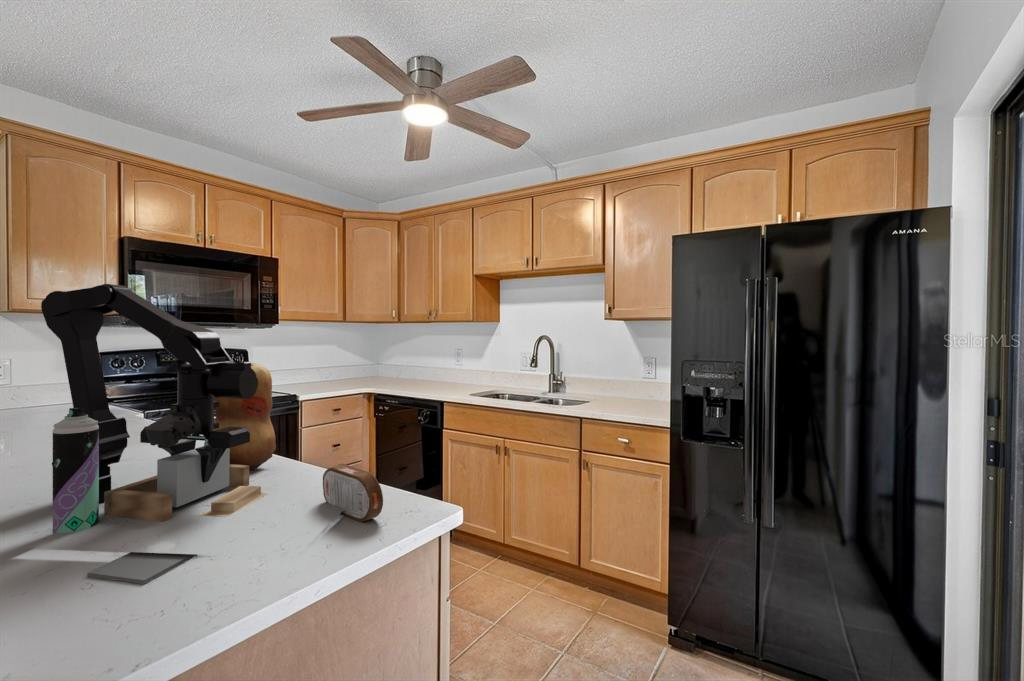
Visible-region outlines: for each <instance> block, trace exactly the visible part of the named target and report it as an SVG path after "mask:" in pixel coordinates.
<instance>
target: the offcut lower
mask: <svg viewBox="0 0 1024 681" xmlns="http://www.w3.org/2000/svg"><path fill="white" fill-rule="evenodd" d="M269 494H270V492H261V495H259V496H258V497H256V498H255V499H253V500H252V501H250V502H249V503H247V504H246V505H244V506H243V507H241V508H240V509H238V510H237V511H239V510H241V509H243V508H245V507H247V506H249V505H251V504H252V503H254V502H256V501H258V500H260V499H261V498H264V497H265V496H268V495H269ZM237 511H235V512H211V508H209V509H208V510H205V511H203V512H202V513H199V514H198V516H204V517H205V516H206V517H207V516H208V517H218V518H219V517H220V518H222V517H223V518H226V517H229V516H230V515H232V514H234V513H236V512H237Z"/></svg>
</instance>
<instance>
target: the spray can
mask: <svg viewBox="0 0 1024 681" xmlns="http://www.w3.org/2000/svg"><path fill="white" fill-rule="evenodd" d="M97 424H98V421H97V420H93V419H91V418H89V417H88V415H86V413H84V408H73V407H70V408H69V409H68V413H67V415H64V417H63V419H61V420H60V421H59V422H57V423H54V424H53V429H52V462H53V466H52V535H54V534H64V533H65V534H66V533H67V534H68V533H75V532H79V531H84V530H87V529H91V528H92V527H94V526H97V525H98V524H99V522H100V520H99V517H100V515H99V514H100V511H99V510H100V508H99V507H100V504H99V503H100V502H99V426H98V425H97Z"/></svg>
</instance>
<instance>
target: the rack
mask: <svg viewBox="0 0 1024 681" xmlns="http://www.w3.org/2000/svg"><path fill="white" fill-rule="evenodd" d="M239 486H250V470H249V466H247V465H235V464H229V486H228V487H236V488H237V487H239ZM103 502H104V505H103V506H104V508H103V512H104V514H103V515H104V516H106V517H108V516H109V517H116V518H117V517H118V518H127V519H137V520H143V521H144V520H145V521H156V522H163V523H164V522H166V521H169V520H171V519H173V507H172V495H171V494H161V493H157V474H156V475H153V476H149V477H147V478H144V479H141V480H138V481H135V482H132V483H129V484H126V485H123V486H120V487H115V488H113V489H111V490H109V491H106V492H104V501H103Z"/></svg>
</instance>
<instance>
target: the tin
mask: <svg viewBox="0 0 1024 681" xmlns="http://www.w3.org/2000/svg"><path fill="white" fill-rule="evenodd" d="M322 489H323V492H322V493H323V497H324V500H325V502H326V503H327V504H329V505H332V506H335V507H337V508H339V509H342V511H341V512H340V514H341V515H342V516H346V517H348V518H350V519H353V520H355V521H357V522H362V523H363V522H366V521H369V520H371V519H375V518H377V517H378V516H379V515H380V514H381V512H382V509H383V507H384V497H383V496H384V495H383V490H382V487H381V485H380V483H379V481H378V479H377V477H376V476H375V475H374V474H373V473H371V472H369V471H368V470H363V469H361V468H358V467H354V466H351V465H348V464H346V463H339V464H337V465H333V466H331V467H329V468H327V469H326V470H325V471H324V473H323V475H322Z"/></svg>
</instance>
